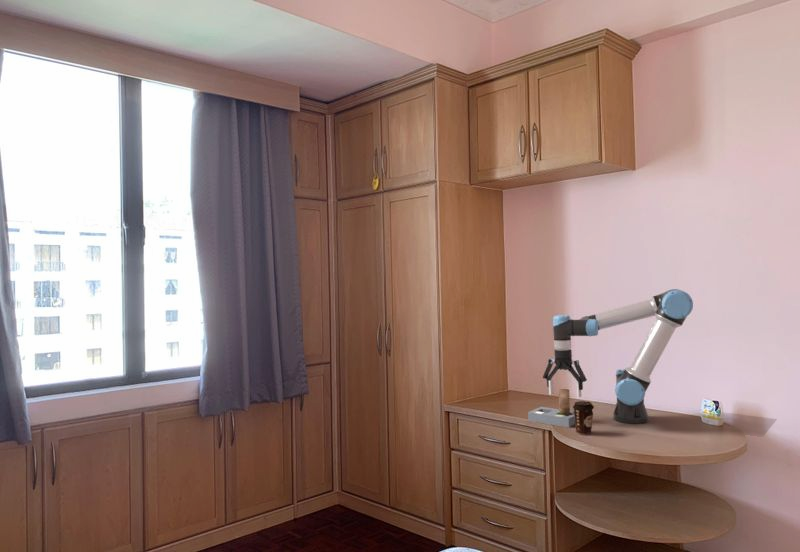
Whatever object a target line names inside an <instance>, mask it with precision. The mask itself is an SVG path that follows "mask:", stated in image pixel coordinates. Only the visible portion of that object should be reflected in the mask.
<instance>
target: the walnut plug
mask: <svg viewBox="0 0 800 552" xmlns="http://www.w3.org/2000/svg"><path fill="white" fill-rule="evenodd" d="M570 405H571V404H570V389H567V388H560V389H558V409H559V415H565V416H569V415H570V411H571V410H570V409H571V407H570Z"/></svg>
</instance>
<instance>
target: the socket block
mask: <svg viewBox="0 0 800 552" xmlns="http://www.w3.org/2000/svg"><path fill="white" fill-rule="evenodd" d="M527 420H528V421H529V422H532V423H533V422H534V423H541V424H547V425H551V426H559V427H564V428H571V427H573V426H576V424H575V415H574V410H570V415H569V416H565V415H559V408H552V407H545V406H540V407H537V408H535V409H533V410H529V411H528V412H527Z"/></svg>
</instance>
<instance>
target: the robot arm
mask: <svg viewBox="0 0 800 552" xmlns="http://www.w3.org/2000/svg"><path fill="white" fill-rule="evenodd" d="M693 307H694V301H693V299H692V297H691V295H690V294H689V293H687V292H685V291H684V290H681V289H678V288H676V289H675V288H674V289H669V290H666V291H665V292H662V293H659V294H656V295H654V296H652V297H651V298H650V299H647V300H645V301H644V300H643V301H639V302H636V303H632V304H629V305H625V306H621V307H617V308H613V309H610V310H605V311H603V312H598V313H595V314H591V315H585V316H583V317H581V318H579V319H572V318H571V317H570V315H567V314H559V315H558V314H557V315H554V316H553V320H552V321H553V322H552V323H553V324H552V329H553V346H554V348H553V349H554V359H553V358H548V362H547V365H546V368H545V371H544V373H543V375H542V378H543V379H545V380H546V386H547V387H548V395H550V396H551V395H553V394H554V380H553V379H552V378H553V377H554V376H555V374H556V373H558V371H559V370H563V371H564V370H565V371H568V372H569V373H570V374H571V375H572V377H573V378H574V379H575V380H576V381H577V382H576V397H577V398H578V399H579V398H581V397H582V391H583V389H584V382H586V381H587V380H588V379H587V378H586V375H585V373H584V371H583V369H582V368H581V365H580V361H579V360H578V359H576V360H573V359H572V358H573V355H572V354H573V353H572V349H571V348H572V337H595V336H596V337H597V336H598V335H599V331H600V330H603V329H608V328H612V327H617V326H620V325H623V324H624V325H625V324H628V323H631V322H635V321H640V320H643V319H648V318H651V317H655V320H654V322H653V324H652V325H651V327H650V330H649V332H647V335H646V337H645V339H644V340H643V342H642V344H641V346H640V348H639V349H638V352H637V354H636V355H635V357H634V359H633V362H631V365H630V366H629V367H625V368H623V369H617V370H616V372H615V379H616V381H615V383H616V385H615V389H614V391H615V395H616V404H615V407H614V410H613V413H612V414H613V415H612V419H613V420H615V421H616V422H620V423H626V424H645V423H648V422H649V414H648V411H647V409H646V405H645V396H646V391H647V390H648V388H649V387H650V385H651V382H652V380H651V378H650V377H651V375H652V372H653V371H654V369H655V367H656V365H657V364H658V362H659V360H660V358H661V356H662V354H663V353H664V351H665V349H666V348H667V346H668V343H669V341H670V340H671V338H672V336H673V334H674V332H676V331H675V330H676V329H677V328H679V327H682V326H683V324H684V322H685V321H686V319H687V317H688V316H689V315H690V314H691V313H692V311H693ZM554 364H555V366H554V368H553V369H552V367H553V365H554ZM573 366H574V367H573ZM551 369H552V371H551Z"/></svg>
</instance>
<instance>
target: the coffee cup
mask: <svg viewBox="0 0 800 552" xmlns="http://www.w3.org/2000/svg"><path fill="white" fill-rule="evenodd" d="M572 408H573V411H574V415H575V433H576V434H577V435H583V436H584V435H585V436H586V435H587V436H588V435H591V434H592V427H593V418H594V412H593V409H595V406H594V405H593V403H592V402H590V401H587V400H586V401H584V400H578V401H575V402H574V405H572Z"/></svg>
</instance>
